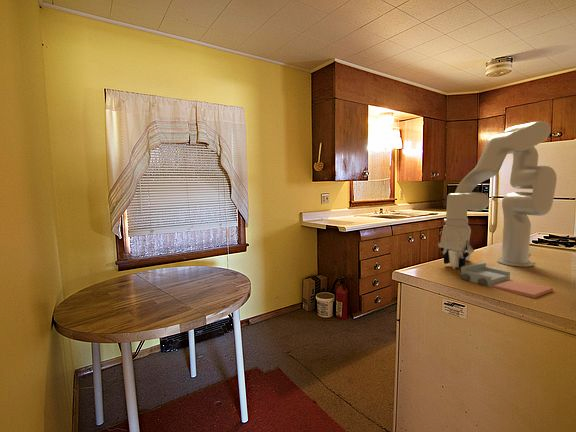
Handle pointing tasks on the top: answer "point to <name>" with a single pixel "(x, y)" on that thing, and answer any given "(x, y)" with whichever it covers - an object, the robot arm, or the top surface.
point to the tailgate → (523, 288)
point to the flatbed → (484, 274)
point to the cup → (454, 258)
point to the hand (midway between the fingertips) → (454, 264)
